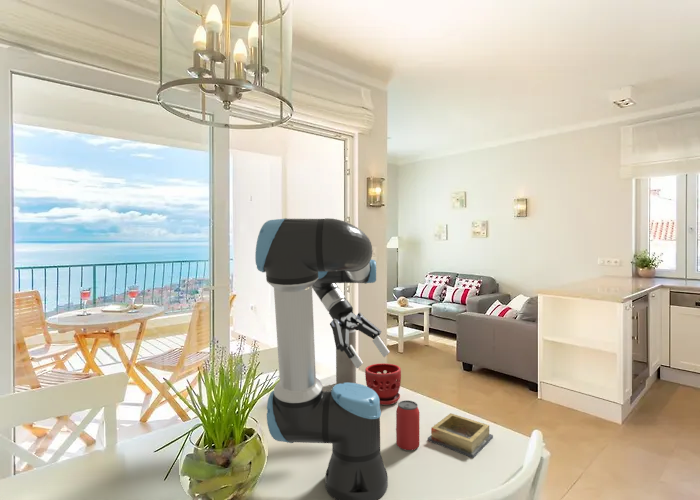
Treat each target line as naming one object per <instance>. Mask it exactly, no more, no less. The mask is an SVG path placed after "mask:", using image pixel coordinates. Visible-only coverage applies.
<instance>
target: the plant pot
mask: <svg viewBox="0 0 700 500" xmlns="http://www.w3.org/2000/svg"><path fill="white" fill-rule="evenodd" d="M385 372H386V373H385ZM364 374H365V376H364V377H365V383H366V386H367V387H369V388H371V389H372V390H374V391H375V392H376V393H377V395H378V397H379V400H380V405H381V406H386V405H387V406H388V405H392V404H395V403H397V402H398V401H399V400H400V398H401V394H400V393H399V392H400V388H401V383H402V382H401V381H402V369H401V367H400V366H399V365H397V364H394V363H386V362H385V363H383V362H382V363H374V364H373V363H372V364H371V365H368V366H367V367H365V369H364Z"/></svg>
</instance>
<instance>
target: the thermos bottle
mask: <svg viewBox="0 0 700 500" xmlns="http://www.w3.org/2000/svg"><path fill="white" fill-rule="evenodd" d="M340 329H341V327H340ZM356 331H357V330H355V329H354V330H350V331H349V346H350V345H352V346H353V348H354V349H355V351H356V352H357V350H356V348H357V347H356V346H357V345H356V340H357V339H356V338H357V337H356ZM341 334H342V333H341ZM335 372H336V373H335V374H336V375H335V377H336V378H335V382H336V384H335V385H337V384H340V383H341V384H343V383H357V368H356V367H355V365H354V364H353V362H352V360H351V359H350V358H349V357H348V356H347V354H346V353H345V351H343V352H341V351H340V349H339V350H337V349H336V348H335Z"/></svg>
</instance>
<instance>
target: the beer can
mask: <svg viewBox="0 0 700 500" xmlns="http://www.w3.org/2000/svg"><path fill="white" fill-rule="evenodd" d="M395 411H396V412H395V416H396V417H395V420H396V421H395V425H396V428H395V430H396V431H395V432H396V434H395V436H396V437H395V441H396V442H395V443H396V445H397V447H398V448H399V449H401V450H403V451H406V452H407V451H408V452H409V451H415V450H417V449H418V448H419V446H420V409H419V405H418V403H417V402H415V401H412V400H401V401H399V402H398V403H397V408H396V410H395Z"/></svg>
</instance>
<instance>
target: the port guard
mask: <svg viewBox="0 0 700 500" xmlns="http://www.w3.org/2000/svg"><path fill="white" fill-rule="evenodd" d="M430 430H431V435H429V436H428V437H427V441H428V442H430V443H433V444H435V445H439V446H441V447H444V448H446V449H448V450H452V451H453V452H456V453H459V454H462V455H464V456H468V457H469V458H472V459H474V458H475V457H476V456H477V455H478V454H479V453H480V452H481V451H482V450H483V448H485V446H486V445H488V443H489V442H491V441H492V439H494V435H493V434H490V425H489V424H486V423H484V422H480V421H476V420H474V419H471V418H467V417H464V416H461V415H458V414H455V413H449V414H447V415H446V416H445V417H444V418H442V419H441V420H440V421H439V422H437V423H436V424H434V425H433V426H432V427H431V428H430Z"/></svg>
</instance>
